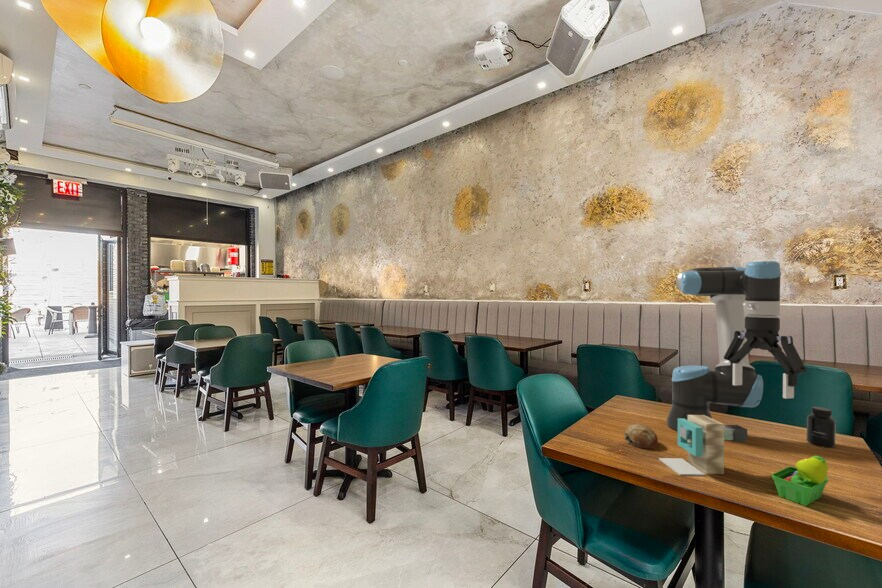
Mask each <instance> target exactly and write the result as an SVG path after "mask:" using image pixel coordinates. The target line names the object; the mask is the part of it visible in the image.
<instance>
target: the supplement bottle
mask: <svg viewBox="0 0 882 588" xmlns="http://www.w3.org/2000/svg"><path fill="white" fill-rule="evenodd" d="M832 412H833V411H832V409H830V408H826V407H821V406H812V407H811V413H810V414H808V415H807V417H806V441H807V442H808V443H810V444H811V445H814V444H815V446H818V445H819V446H818V447H822V446H824V448H834V447H835V446H836V431H837V429H836V428H837V425H836V423H837V421H836V420H835V419H834V418H832V416H833V413H832Z"/></svg>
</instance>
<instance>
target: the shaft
mask: <svg viewBox="0 0 882 588" xmlns="http://www.w3.org/2000/svg"><path fill="white" fill-rule="evenodd" d="M680 436H681V437H682V438H684V439H686V440H692V431H691V430H689V429H687V428H685V427H683V426H680ZM724 441H732V442H734V443H747V442H748V429H747V428H745V427H743V426H740V425H738V424H724Z"/></svg>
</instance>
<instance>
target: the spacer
mask: <svg viewBox="0 0 882 588" xmlns="http://www.w3.org/2000/svg"><path fill="white" fill-rule="evenodd" d="M680 426H683V427H685V428H687V429H689V430H691V431H692V444H690V443H688V442H687V440H686V439H684V438H682V437H681V436H680ZM676 439H677V446H679V447H680V448H682V449H683V450H685V451H686V452H687V451H688V452H689V453H691V454H693V455H694V456H703V428H702V427H700V426H698V425H696V424H694V423H692V422H690V421H688V420H686V419H684V418H678V431H677V438H676Z"/></svg>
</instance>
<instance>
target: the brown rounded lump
mask: <svg viewBox="0 0 882 588" xmlns="http://www.w3.org/2000/svg"><path fill="white" fill-rule="evenodd" d="M624 440H625V443H626V444H629V445H631V446H633V447H636V448H640V449H654V448H656V447H657V445H658V443H659V439H658V435H657V434H656V432H655V431H654V430H653V429H652V428H650V427H649V426H647V425H645V424H639V423H636V424H630V425H629V426H627V427H626V429H625V431H624Z"/></svg>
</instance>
